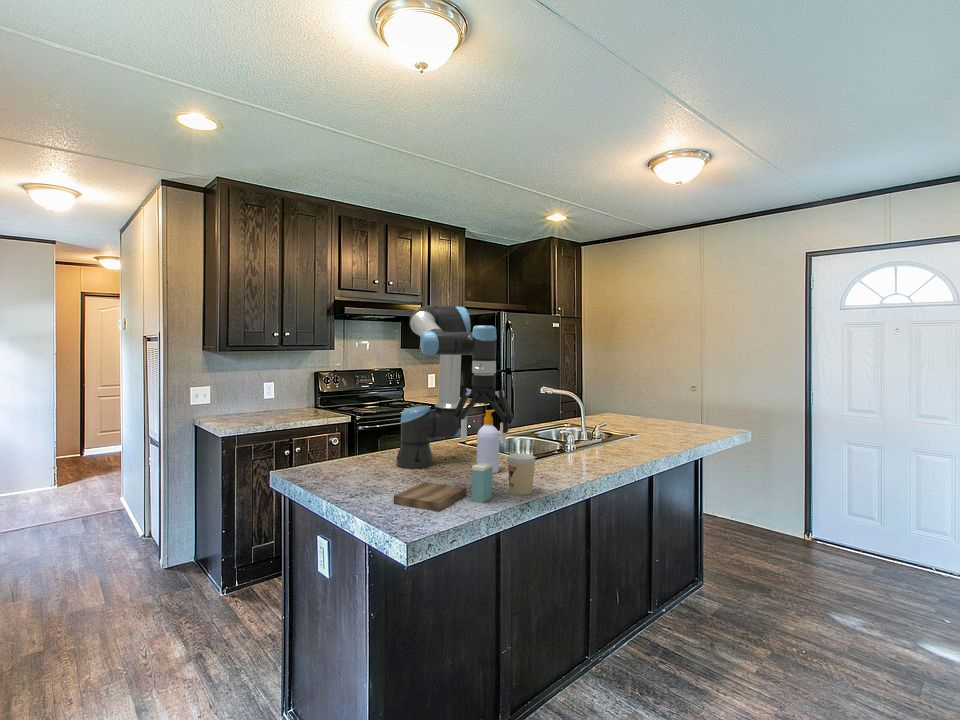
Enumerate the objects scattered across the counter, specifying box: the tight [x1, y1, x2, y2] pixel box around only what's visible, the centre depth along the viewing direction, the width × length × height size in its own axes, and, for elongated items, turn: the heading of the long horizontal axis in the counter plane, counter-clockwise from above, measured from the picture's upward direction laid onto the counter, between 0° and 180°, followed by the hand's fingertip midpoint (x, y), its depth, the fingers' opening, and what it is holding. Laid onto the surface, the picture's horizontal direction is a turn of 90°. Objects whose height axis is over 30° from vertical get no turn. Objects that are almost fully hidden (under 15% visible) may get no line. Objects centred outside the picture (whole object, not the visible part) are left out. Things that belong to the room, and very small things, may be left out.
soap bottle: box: [476, 409, 500, 475], centre depth 201 cm, size 9×9×24 cm
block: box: [470, 462, 493, 504], centre depth 165 cm, size 4×7×11 cm, turn 155°
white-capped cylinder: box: [507, 452, 536, 496], centre depth 174 cm, size 9×9×12 cm
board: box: [393, 481, 467, 512], centre depth 164 cm, size 16×18×2 cm
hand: (482, 441), depth 164 cm, fingers open, 13 cm apart
